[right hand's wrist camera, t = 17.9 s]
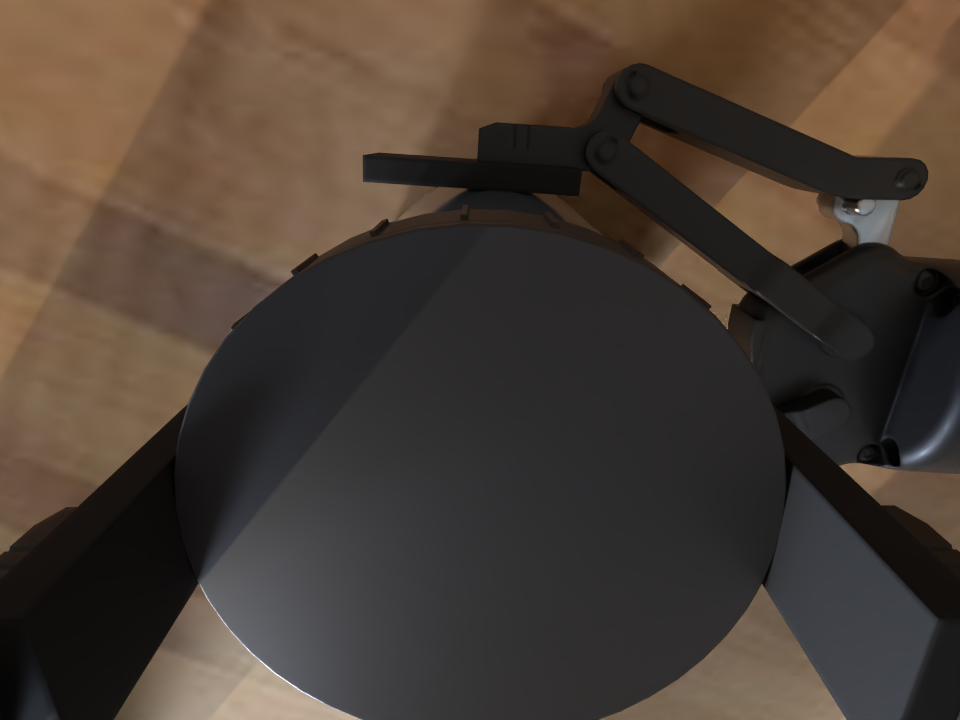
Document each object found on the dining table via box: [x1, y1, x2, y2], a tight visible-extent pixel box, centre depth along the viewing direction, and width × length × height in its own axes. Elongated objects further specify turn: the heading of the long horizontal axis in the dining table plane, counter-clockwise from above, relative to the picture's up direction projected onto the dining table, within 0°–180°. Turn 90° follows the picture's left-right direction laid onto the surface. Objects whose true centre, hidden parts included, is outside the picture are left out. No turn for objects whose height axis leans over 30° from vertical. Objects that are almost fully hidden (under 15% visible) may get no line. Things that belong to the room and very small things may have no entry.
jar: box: [395, 187, 602, 235], centre depth 20 cm, size 10×10×15 cm
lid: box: [174, 205, 787, 720], centre depth 11 cm, size 11×11×2 cm
